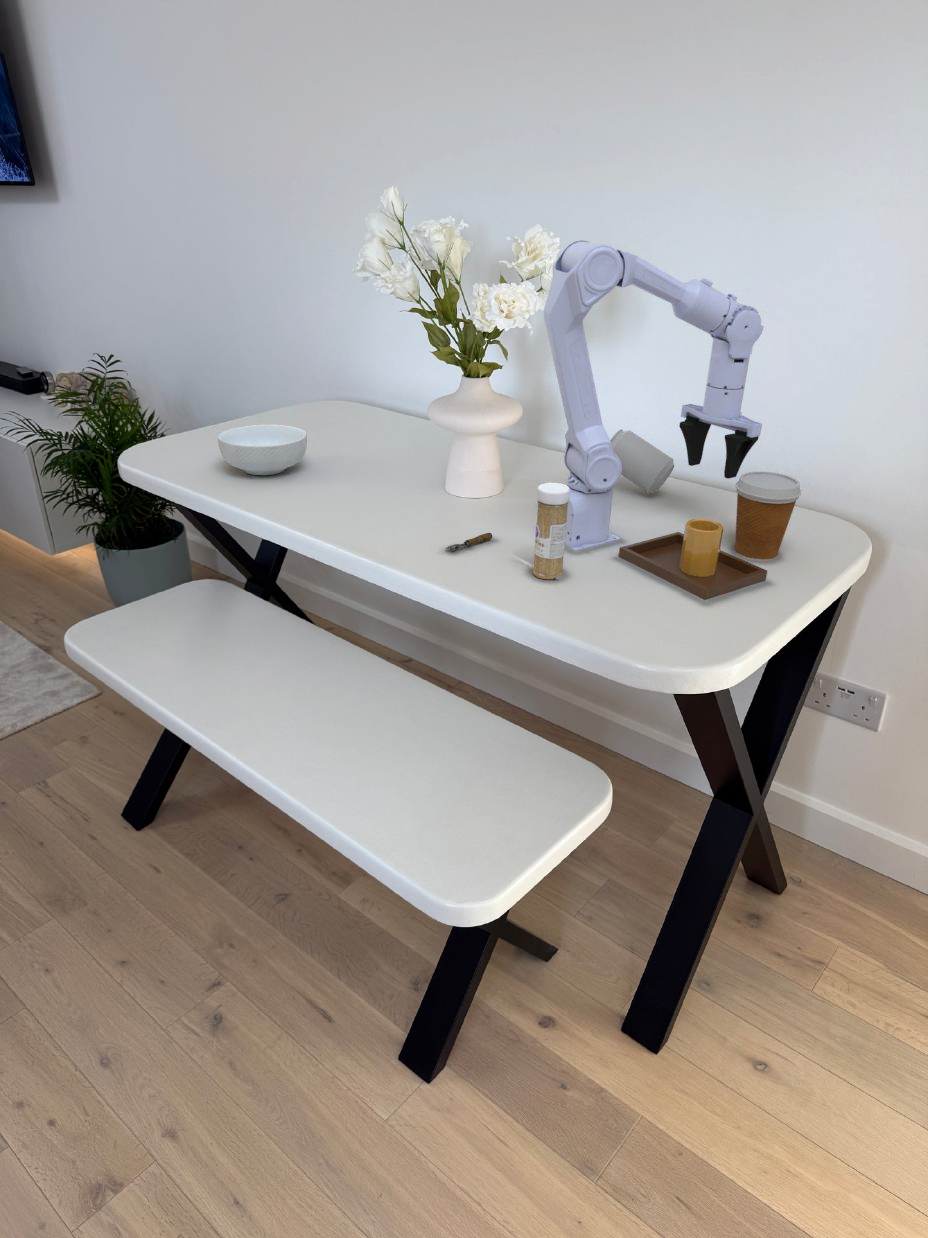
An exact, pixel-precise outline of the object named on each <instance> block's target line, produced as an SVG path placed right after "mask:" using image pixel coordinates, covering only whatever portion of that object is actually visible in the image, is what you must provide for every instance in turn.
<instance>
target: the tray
mask: <svg viewBox="0 0 928 1238" xmlns="http://www.w3.org/2000/svg"><path fill="white" fill-rule="evenodd" d="M683 538H684V533H682V532H680V531H677V532H673V533H669V534H666V535H662V536H658V537H654V538H650V539H646V540H643V541H639V542H635V543H632V544H628V545H624V546H620V547H619V549H618V558H620V559H622V560H624V561H626V562H629V563H630V564H632V565H634V566H636V567H638V568H640V569H642V570H644V571H646V572H648V573H650V574H652V575H654V576H656V577H658V578H660V579H661V580H664V581H665V582H667V583H668V582H669V583H670V584H672V585H675V586H676V587H678V588H680V589H682V590H684V591H686V592H688V593H690V594H692V595H694V596H696V597H698V598H699V599H702V600H703V601H707V600H710V599H712V598H716V597H720V596H722V595H725V594H729V593H731V592H735V591H737V590H741V589H744V588H748V587H750V586H753V585H756V584H759V583H762V582H765V581H767V577H768V570H767V569H765V568H763V567H761V566H758V565H756V564H753V563H751V562H748V561H746V560H745V559H742V558H740V557H737V556H735V555H733V554H731V553H729V552H725V551H724V550H722V549H720V552H719V558H718V564H717V570H716V572H715V574H714V575H711V576H708V577H697V576H692V575H688V574H686V573H684V572H682V571H681V570H680V568H679V565H680V559H681V552H682V545H683Z"/></svg>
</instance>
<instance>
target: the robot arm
mask: <svg viewBox="0 0 928 1238" xmlns="http://www.w3.org/2000/svg"><path fill="white" fill-rule="evenodd" d="M551 268H552V278H551V282H550V285H549V288H548V293H547V297H546V300H545V304H544V308H543V320H544V324H545V329H546V333H547V339H548V342H549V347H550V351H551V356H552V360H553V364H554V365H553V366H554V369H555V374H556V375H555V376H556V379H557V384H558V389H559V393H560V397H561V402H562V407H563V411H564V416H565V420H566V426H567V430H566V432H565V434H564V438H565V450H564V454H563V461H564V465H565V467H566V469H567V470H568V471H569V475H568V478H567V483H566V484H565V485H566V486H568V487H569V488H570V498H569V501H568V509H567V526H566V539H565V547H568V548H569V549H571V550H573V551H580V550H584V549H588V548H591V547H596V546H600V545H603V544H604V545H605V544H608V543H611V542H615V541H618V540H621V537H619V536H618V535H616V534H613V533H611V532H610V525H611V514H612V505H613V497H614V486H616V485H617V484H618V482H619V480H620V479H621V476H622V475H621V474H622V464H621V461H620V459H619V458H618V456H617V455H616V454H615V453H614V451H613V449H612V444H611V441H610V440H611V438H610V437H609V434H608V433H607V431H606V429H605V427H604V425H603V420H602V415H601V410H600V406H599V400H598V395H597V390H596V385H595V384H596V383H595V378H594V374H593V370H592V365H591V359H590V354H589V349H588V344H587V343H588V342H587V339H586V333H585V328H584V324H583V322H584V319H585V318H586V317H587V315H588V314H589V312H590V311H591V309H592V308H593V306H595V305H596V304H597V303H599V301H601V300H602V299H603V298H605V297H606V296H607V295H608V294H610V292H612V291H613V290H614V289H615V288H616V287H618V288H619V287H620V288H626V287H629V286H633V287H636V288H637V289H639V290H642V291H644V292H646V293H649V294H650V295H652V296H654V297H657V298H659V299H661V300H663V301H665V302H667V303H669V304H671V309H672V312H673V315H674V316H675V317H676V318H677V319H679V320H682V321H683V322H685V323H687V324H689V325H691V326H693V327H694V328H697V329H698V330H701V331H702V332H704V333H707V334H709V336H710V337H711V338H712V346H711V352H710V358H709V366H708V371H707V379H706V385H705V392H704V398H703V405H697V404H692V403H687V404H682V405H681V412H680V417H681V418H684V420H682V421H680V422H679V429H680V431H681V434H682V436H683V439H684V442H685V448H686V453H687V463H688V466H690V467H692V466H693V467H694V466H698V465H700V464H701V461H702V459H703V454H704V449H705V448H704V447H705V443H706V440H707V437H708V434H709V432H710V428H711V427H712V426H716V427H718V428H721V429H726V430H729V431H732V432H734V433H728V434H724V443H725V451H726V452H725V453H726V454H725V463H724V464H725V465H724V470H723V471H724V472H723V473H724V475H723V477H724V479H728V480H729V479H734V478H736V477H737V476H738V473H739V471H740V469H741V467H742V463H743V462H744V460H745V458H746V457H747V456H748V453H749V452H750V451H751V449H752V448H753V447H754V445H755V444H756V443H757V442H758V440H759V438H760V436H761V433H762V427H763V422H762V423H761V422H758V421H756V420H754V419H751V418H749V417H747V416H744V415H743V414H742V411H741V410H742V404H743V400H744V393H745V388H746V382H747V377H748V370H749V364H750V359H751V355H752V353H753V348H754V345H755V344H756V342H757V341H758V340H759V338H760V337H761V336H762V334H763V332H764V328H765V326H764V325H762V318H761V315H760V314H759V311H758V309H756V308H755V307H753V306H750V305H746V304H743V303H740V302H739V303H738V301H737V300H738V296H737V295H735V294H733V293H728V294H725V293H724V292H722V291H720V290H718V289H716V288H714V287H712V286H713V283H714V282H713V281H711V280H709V279H708V278H704V277H703V278H701V279H698V278H692V279H690V280H688V281H685V282H682V281H681V280H679V279H677V278H676V277H674V276H672V275H671V274H669V273H667V272H665V271H664V270H662V269H660V268H658V267H657V266H656V265H654V264H652V263H650V262H649V261H647V260H645V259H643V258H642V257H640V256H638V255H637V254H633V253H631V252H628V251H624V250H621V249H616V248H615V247H613V246H612V245H609V244H604V243H600V244H599V243H594V242H590V241H588V240H584V239H576V240H573V241H572V242H570V243H568V244H567V245H566V246H565V247H564V248H563V250H562V251H561V252H560V254H559V255H558V256H557V258H556V259H555V261H554V262H553V263H552V267H551Z"/></svg>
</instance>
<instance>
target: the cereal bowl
mask: <svg viewBox="0 0 928 1238" xmlns="http://www.w3.org/2000/svg"><path fill="white" fill-rule="evenodd" d="M217 443H218V449H219V453H220V454H221V456H222V458H223V460H225V462H227V463H228V464H229V465H230V466H232V467H235V468H237V469H240V470H243V471H244V472H245V473H246V474H250V475H253V476H271V475H272V476H273V475H278V474H281V473H283V472H284V471H286V469H288V468H291V467H293V466H295V465H296V464H298V463H299V462H300V461H301V460H302V459H303V458H304V456H305V454H306V451H307V447H308V435H307V432H306V431H305V430H304V429H301V428H299V427H296V426H291V425H285V424H252V425H245V426H242V425H241V426H236V427H232V428H229V429H226V430H224V431H223V430H222V431H221V432H220V433H219V434H218V435H217Z"/></svg>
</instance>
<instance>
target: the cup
mask: <svg viewBox="0 0 928 1238" xmlns="http://www.w3.org/2000/svg"><path fill="white" fill-rule="evenodd" d="M723 533H724V525H722V524H721V523H720V522H718V521H715V520H711V519H707V518H706V519H705V518H694V519H691V520H687V521H686V522H685V525H684V532H683V534H684V538H683V545H682V552H681V559H680V565H679V568H680V570H681V571H682V572H684V573H686V574H688V575H692V576H697V577H708V576H711V575H714V574H715V572H716V570H717V564H718V558H719V552H720V550H721V546H722V540H723Z"/></svg>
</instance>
